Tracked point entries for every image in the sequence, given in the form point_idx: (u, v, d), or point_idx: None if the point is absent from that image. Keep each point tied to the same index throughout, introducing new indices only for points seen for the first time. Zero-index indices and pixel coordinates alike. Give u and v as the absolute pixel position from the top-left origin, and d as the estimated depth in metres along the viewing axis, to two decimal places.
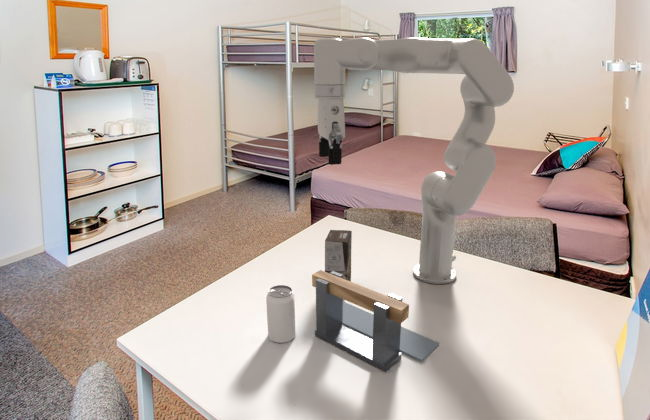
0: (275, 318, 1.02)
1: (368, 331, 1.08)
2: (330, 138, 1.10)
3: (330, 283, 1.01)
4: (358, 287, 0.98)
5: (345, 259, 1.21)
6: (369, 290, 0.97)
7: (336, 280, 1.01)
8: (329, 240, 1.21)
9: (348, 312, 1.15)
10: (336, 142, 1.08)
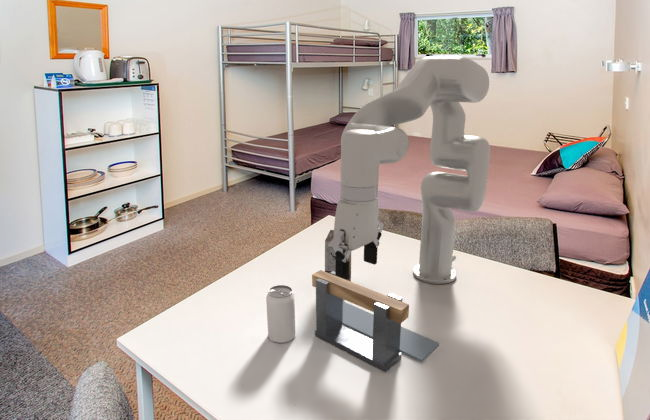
0: (275, 318, 1.02)
1: (368, 331, 1.08)
2: None
3: (330, 283, 1.01)
4: (358, 287, 0.98)
5: None
6: (369, 290, 0.97)
7: (336, 280, 1.01)
8: (329, 240, 1.21)
9: (348, 312, 1.15)
10: None
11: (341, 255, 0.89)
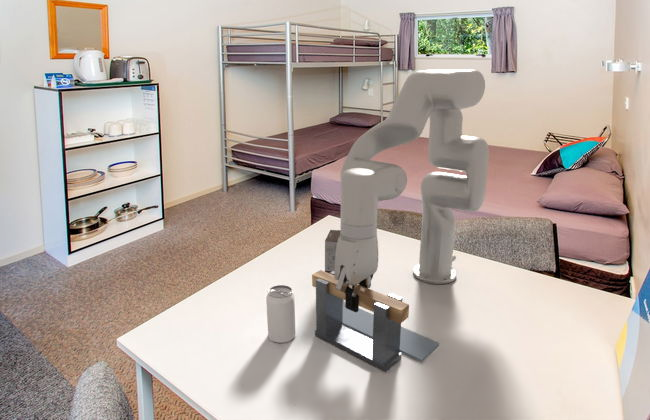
0: (275, 318, 1.02)
1: (368, 331, 1.08)
2: None
3: (330, 283, 1.01)
4: (358, 287, 0.98)
5: None
6: (369, 290, 0.97)
7: (336, 280, 1.01)
8: (329, 240, 1.21)
9: (348, 312, 1.15)
10: None
11: (350, 293, 0.95)
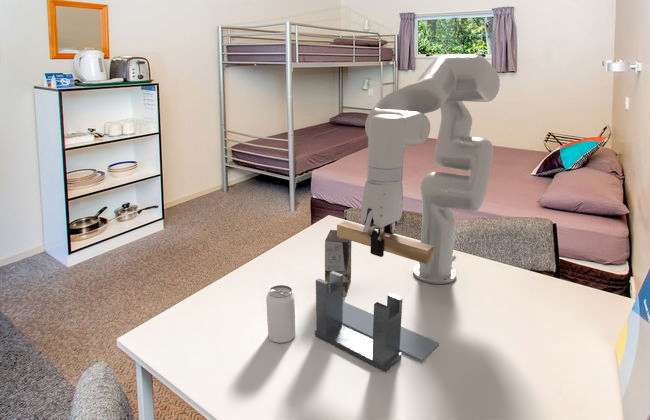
0: (275, 318, 1.02)
1: (368, 331, 1.08)
2: None
3: (355, 231, 1.04)
4: (383, 233, 1.01)
5: (345, 259, 1.21)
6: (394, 236, 1.00)
7: (361, 228, 1.04)
8: (329, 240, 1.21)
9: (348, 312, 1.15)
10: None
11: (376, 237, 0.98)
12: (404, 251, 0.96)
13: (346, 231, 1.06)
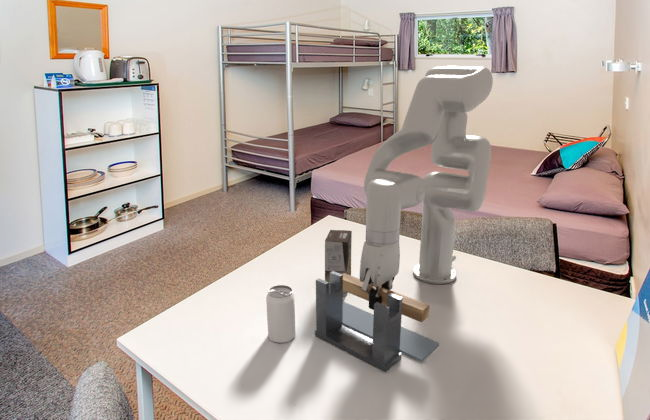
0: (275, 318, 1.02)
1: (368, 331, 1.08)
2: None
3: (354, 285, 1.08)
4: (381, 289, 1.06)
5: (345, 259, 1.21)
6: (391, 292, 1.04)
7: (359, 282, 1.09)
8: (329, 240, 1.21)
9: (348, 312, 1.15)
10: None
11: (373, 294, 1.02)
12: None
13: (345, 284, 1.10)
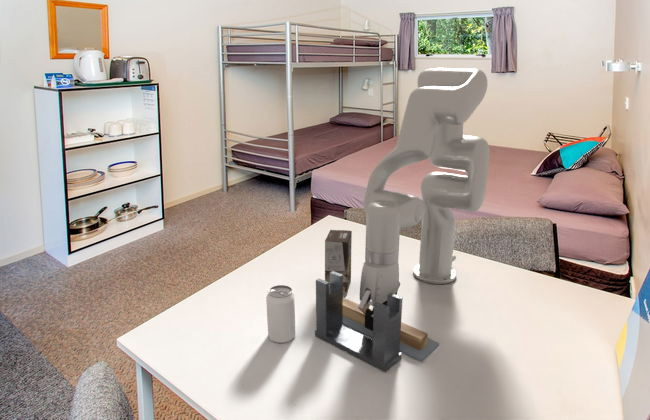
0: (275, 318, 1.02)
1: (368, 331, 1.08)
2: None
3: (354, 311, 1.11)
4: None
5: (345, 259, 1.21)
6: None
7: None
8: (329, 240, 1.21)
9: None
10: None
11: (370, 313, 1.03)
12: (400, 336, 1.03)
13: (346, 310, 1.13)
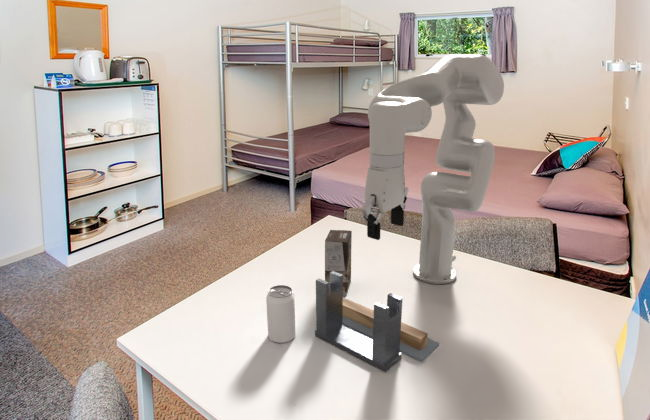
0: (275, 318, 1.02)
1: (368, 331, 1.08)
2: None
3: (354, 311, 1.11)
4: None
5: (345, 259, 1.21)
6: None
7: (359, 308, 1.11)
8: (329, 240, 1.21)
9: None
10: None
11: (373, 218, 0.98)
12: (400, 336, 1.03)
13: (346, 310, 1.13)
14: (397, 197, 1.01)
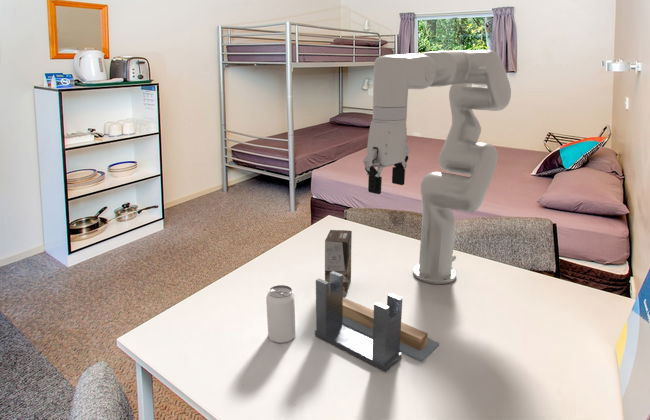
0: (275, 318, 1.02)
1: (368, 331, 1.08)
2: None
3: (354, 311, 1.11)
4: None
5: (345, 259, 1.21)
6: None
7: (359, 308, 1.11)
8: (329, 240, 1.21)
9: None
10: None
11: (374, 170, 0.99)
12: (400, 336, 1.03)
13: (346, 310, 1.13)
14: (399, 153, 1.02)
